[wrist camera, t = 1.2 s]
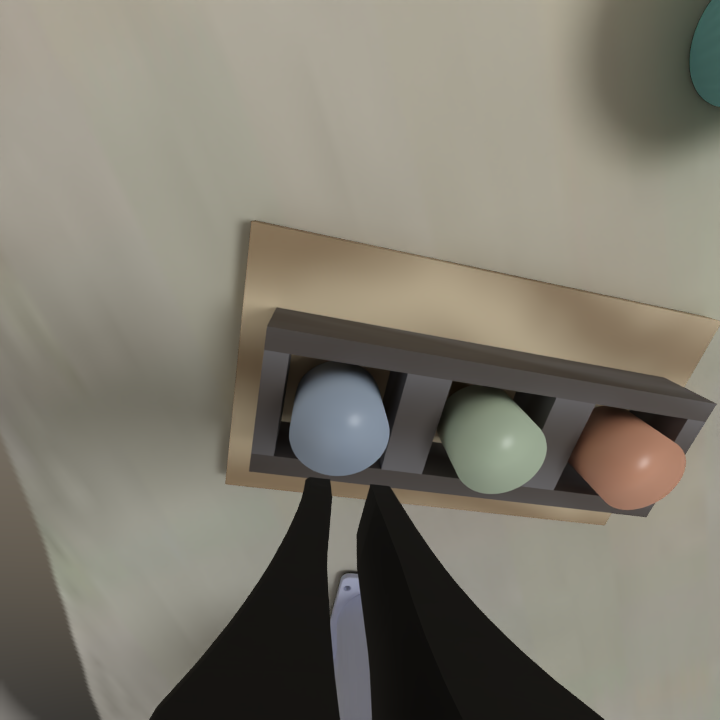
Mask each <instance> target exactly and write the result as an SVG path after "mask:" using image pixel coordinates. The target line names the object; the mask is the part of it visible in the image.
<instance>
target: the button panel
mask: <svg viewBox="0 0 720 720" xmlns="http://www.w3.org/2000/svg"><path fill="white" fill-rule="evenodd" d="M719 326H720V321H719V320H715V319H712V318H708V317H705V316H700V315H696V314H691V313H686V312H682V311H677V310H672V309H668V308H663V307H658V306H654V305H649V304H644V303H640V302H635V301H630V300H626V299H621V298H616V297H612V296H607V295H602V294H597V293H593V292H588V291H583V290H579V289H574V288H569V287H565V286H560V285H555V284H551V283H546V282H541V281H537V280H532V279H527V278H523V277H518V276H513V275H509V274H504V273H499V272H494V271H490V270H485V269H480V268H476V267H471V266H466V265H462V264H457V263H452V262H448V261H443V260H438V259H434V258H429V257H424V256H420V255H415V254H410V253H405V252H401V251H396V250H391V249H387V248H382V247H377V246H373V245H368V244H363V243H359V242H354V241H349V240H345V239H340V238H335V237H331V236H326V235H321V234H317V233H312V232H307V231H302V230H298V229H293V228H288V227H284V226H279V225H274V224H270V223H265V222H260V221H256V220H255V221H251V230H250V240H249V250H248V261H247V271H246V281H245V291H244V301H243V311H242V321H241V331H240V341H239V351H238V361H237V371H236V382H235V392H234V402H233V412H232V422H231V432H230V442H229V452H228V462H227V472H226V482H225V484H229V485H238V486H247V487H256V488H266V489H275V490H284V491H293V492H302V493H303V490H304V485H305V480H306V479H307V478H309V477H315V478H323V479H330V482H331V490H332V496H339V497H348V498H357V499H366V498H367V494H368V491H369V487H370V484H375V485H384V486H390V487H391V489H392V490H393V492H394V493H395V495H396V497H397V498H398V500H399V502H400V503H403V504H413V505H422V506H431V507H440V508H449V509H458V510H468V511H477V512H486V513H495V514H504V515H514V516H523V517H532V518H541V519H550V520H559V521H569V522H578V523H587V524H596V525H605V524H606V522H607V520H608V519H609V517H610V515H611V513H615V514H623V515H632V516H641V517H647V515H648V514H649V512H650V510H651V509H652V507H653V506H654V504H655V503H654V504H651V505H649V506H646V507H643V508H640V509H634V510H621V509H617V508H614V507H612V506H610V505H608V504H607V503H606V502H605V501H604V500H603V499H602V498H601V497H600V496H599V495H598V494H597V493H596V491H595V490H594V489H593V488H592V487H591V486H590V485H589V484H588V483H587V482H586V481H585V480H584V479H583V478H582V477H581V476H580V474H579V473H578V472H577V471H576V470H575V469H574V468H573V467H572V466H571V465H570V464H569V463H568V460H569V458H570V456H571V454H572V452H573V449H574V447H575V445H576V443H577V441H578V439H579V437H580V435H581V433H582V431H583V429H584V427H585V425H586V423H587V421H588V419H589V417H590V415H591V413H592V411H593V409H594V408H595V407H599V406H610V407H616V408H623V409H626V410H628V411H629V412H631V413H632V414H633V415H635V416H636V417H638V418H639V419H641V420H642V421H644V422H645V423H647V424H648V425H650V426H651V427H653V428H654V429H656V430H657V431H659V432H660V433H661V434H663V435H664V436H666V437H667V438H669V439H670V440H672V441H673V442H675V443H676V444H678V445H679V446H680V447H681V449H682V450H683V452H684V454H686V452H687V451H688V449H689V448H690V446H691V444H692V443H693V441H694V440H695V438H696V436H697V435H698V433H699V432H700V430H701V428H702V427H703V425H704V424H705V422H706V420H707V419H708V417H709V415H710V414H711V412H712V411H713V409H714V407H715V406H716V403H714V402H712V401H710V400H708V399H706V398H704V397H702V396H700V395H698V394H696V393H694V392H692V391H690V390H688V389H686V388H684V387H685V385H686V383H687V381H688V380H689V378H690V376H691V375H692V373H693V371H694V369H695V368H696V366H697V364H698V362H699V361H700V359H701V357H702V355H703V354H704V352H705V350H706V348H707V347H708V345H709V343H710V342H711V340H712V338H713V336H714V335H715V333H716V331H717V329H718V328H719ZM329 361H335V362H341V363H347V364H353V365H359V366H361V367H363V368H364V369H365V370H367V371H368V372H369V373H370V374H371V375H372V376H373V378H374V379H375V381H376V383H377V385H378V388H379V392H380V395H381V399H382V402H383V406H384V409H385V413H386V416H387V420H388V424H389V440H388V444H387V446H386V449H385V450H384V452H383V454H382V455H381V457H380V458H379V459H378V460H377V461H376V462H375V463H374V464H372V465H371V466H369V467H368V468H366V469H364V470H362V471H360V472H358V473H355V474H351V475H345V476H330V475H324V474H321V473H318V472H316V471H313V470H311V469H310V468H308V467H307V466H305V465H304V464H303V463H302V462H301V461H300V460H299V459H298V458H297V457H296V455H295V454H294V452H293V450H292V447H291V445H290V440H289V429H290V423H291V417H292V411H293V406H294V400H295V394H296V390H297V387H298V384H299V382H300V381H301V379H302V378H303V376H304V375H305V374H306V373H307V372H308V371H310V370H311V369H312V368H314V367H316V366H317V365H320V364H322V363H325V362H329ZM471 385H482V386H488V387H494V388H500V389H502V390H503V391H504V392H506V393H507V395H508V396H509V397H510V398H511V399H512V400H513V401H514V402H515V403H516V404H517V405H518V406H519V407H520V408H521V409H522V410H523V411H524V412H525V413H526V414H527V415H528V416H529V417H530V419H531V420H532V421H533V422H534V423H535V424H536V425H537V426H538V427H539V428H540V429H541V430H542V432H543V434H544V436H545V439H546V443H547V451H546V456H545V459H544V462H543V464H542V466H541V468H540V469H539V470H538V472H537V473H536V474H535V475H534V476H533V477H532V478H531V479H530V480H529V481H528V482H526V483H525V484H523V485H522V486H520V487H518V488H516V489H514V490H511V491H508V492H504V493H499V494H484V493H479V492H476V491H474V490H472V489H470V488H468V487H467V486H466V485H464V484H463V483H462V481H461V480H460V479H459V477H458V475H457V473H456V471H455V469H454V467H453V465H452V463H451V461H450V459H449V456H448V454H447V452H446V450H445V448H444V446H443V444H442V442H441V440H440V438H439V436H438V433H437V426H438V423H439V420H440V417H441V414H442V411H443V408H444V405H445V402H446V400H447V399H448V398H449V397H450V396H451V395H452V394H454V393H455V392H457V391H458V390H460V389H462V388H465V387H467V386H471Z"/></svg>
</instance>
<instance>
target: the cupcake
mask: <svg viewBox="0 0 720 720" xmlns="http://www.w3.org/2000/svg"><path fill="white" fill-rule="evenodd" d="M690 73H691V78H692V82H693V84H694V87H695V89H696V91H697V92H698V94H699V95H700V96H701V97H702V98H703V99H704V100H705V101H706V102H708V103H710V104H712V105H714V106H717V107H720V0H711V2H710V3H709V4H708V6H707V8H706V9H705V11H704V13H703V14H702V16H701V18H700V20H699V23H698V25H697V28H696V30H695V33H694V36H693V40H692V44H691V50H690Z"/></svg>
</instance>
